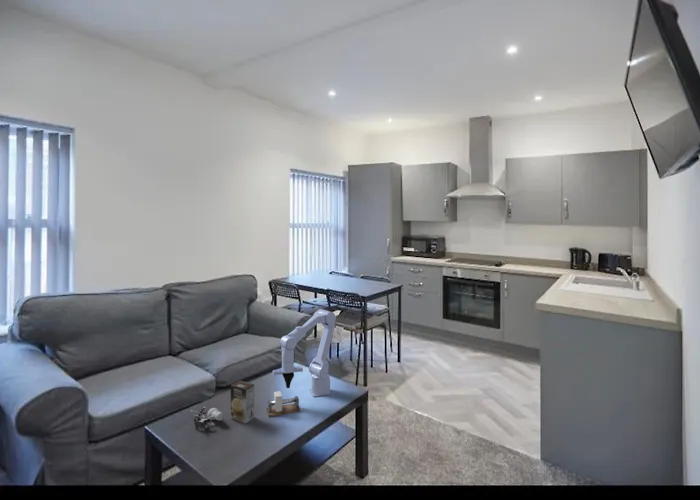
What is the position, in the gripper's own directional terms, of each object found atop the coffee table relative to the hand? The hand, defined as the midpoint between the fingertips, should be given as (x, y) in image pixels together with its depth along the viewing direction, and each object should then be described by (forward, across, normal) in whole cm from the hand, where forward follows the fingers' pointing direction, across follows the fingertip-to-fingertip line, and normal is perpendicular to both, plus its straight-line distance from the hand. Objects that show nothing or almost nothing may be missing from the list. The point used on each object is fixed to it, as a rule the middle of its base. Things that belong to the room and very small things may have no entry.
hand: (287, 387), depth 185 cm
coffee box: (+9, +22, +5) cm, 25 cm away
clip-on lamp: (+9, +38, +2) cm, 39 cm away
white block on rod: (+8, +6, +5) cm, 11 cm away
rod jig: (+9, +3, +5) cm, 11 cm away
